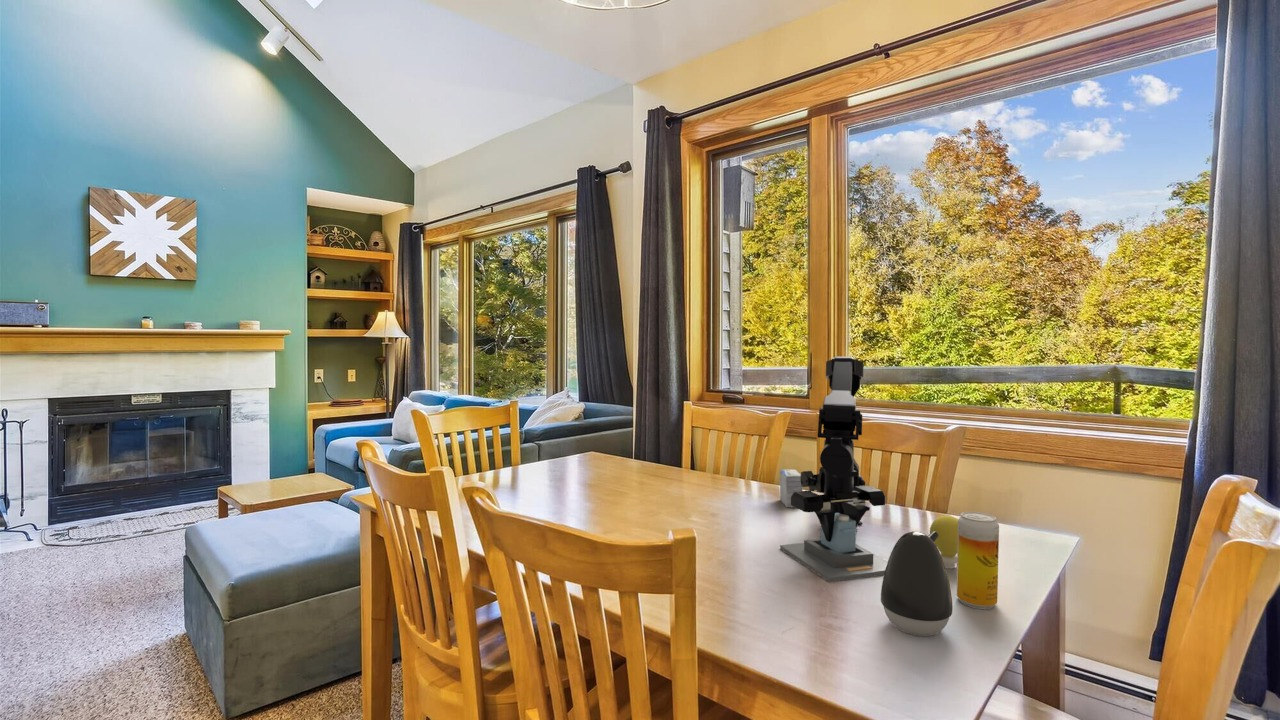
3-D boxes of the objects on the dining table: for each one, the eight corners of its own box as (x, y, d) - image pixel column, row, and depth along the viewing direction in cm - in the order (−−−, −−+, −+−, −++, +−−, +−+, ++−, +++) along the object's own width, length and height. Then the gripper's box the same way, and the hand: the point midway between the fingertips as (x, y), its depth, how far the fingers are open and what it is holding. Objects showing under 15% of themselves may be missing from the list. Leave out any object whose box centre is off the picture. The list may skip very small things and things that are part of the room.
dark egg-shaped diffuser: (966, 632, 93) (968, 535, 92) (927, 651, 87) (929, 548, 86) (905, 607, 101) (907, 518, 100) (866, 623, 95) (867, 529, 95)
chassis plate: (844, 541, 133) (845, 529, 133) (901, 572, 116) (901, 558, 116) (780, 548, 129) (780, 536, 129) (828, 582, 111) (828, 567, 111)
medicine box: (802, 508, 159) (803, 475, 159) (785, 508, 159) (786, 475, 159) (795, 500, 167) (796, 469, 167) (779, 500, 167) (779, 469, 167)
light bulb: (965, 563, 121) (966, 513, 120) (968, 575, 114) (969, 523, 114) (928, 558, 123) (929, 509, 123) (929, 569, 117) (930, 519, 117)
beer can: (996, 614, 99) (998, 523, 98) (955, 605, 102) (956, 517, 101) (997, 600, 104) (999, 514, 103) (957, 592, 107) (959, 509, 106)
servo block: (834, 539, 127) (834, 507, 126) (859, 552, 119) (859, 519, 118) (817, 540, 126) (817, 508, 125) (841, 555, 118) (842, 520, 117)
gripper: (853, 453, 132) (852, 524, 132) (777, 459, 127) (776, 532, 127) (887, 464, 121) (886, 540, 122) (806, 470, 116) (805, 550, 117)
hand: (837, 540), depth 122 cm, fingers closed on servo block, 4 cm apart
